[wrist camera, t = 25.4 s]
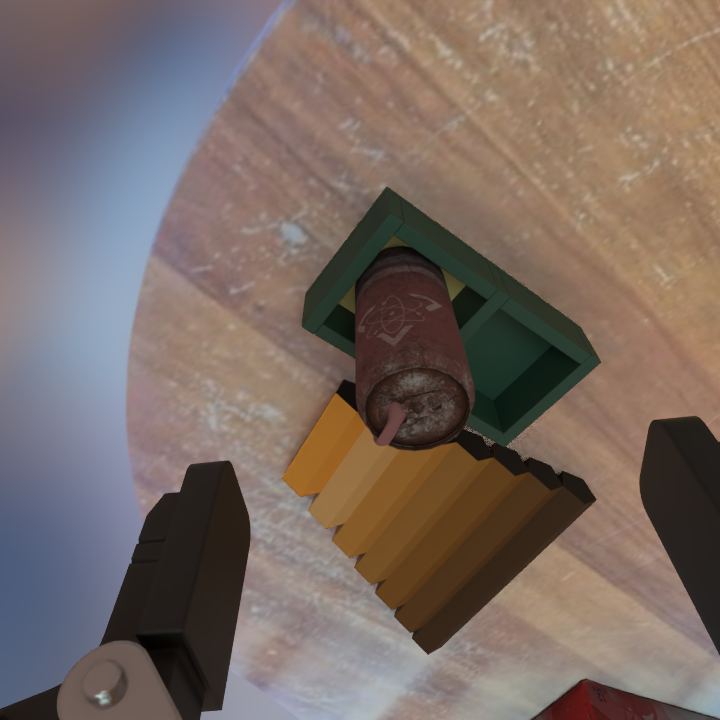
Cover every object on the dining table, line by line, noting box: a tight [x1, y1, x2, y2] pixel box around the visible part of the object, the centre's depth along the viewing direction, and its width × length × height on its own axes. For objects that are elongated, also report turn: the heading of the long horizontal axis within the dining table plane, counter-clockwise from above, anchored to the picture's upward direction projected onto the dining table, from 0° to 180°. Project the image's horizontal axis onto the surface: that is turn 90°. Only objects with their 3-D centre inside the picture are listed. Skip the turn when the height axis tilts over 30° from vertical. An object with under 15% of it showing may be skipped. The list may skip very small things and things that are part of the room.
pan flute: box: [282, 380, 597, 654], centre depth 56 cm, size 25×3×25 cm
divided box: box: [302, 187, 601, 447], centre depth 43 cm, size 18×10×5 cm, turn 54°
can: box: [355, 246, 475, 451], centre depth 37 cm, size 6×6×14 cm
